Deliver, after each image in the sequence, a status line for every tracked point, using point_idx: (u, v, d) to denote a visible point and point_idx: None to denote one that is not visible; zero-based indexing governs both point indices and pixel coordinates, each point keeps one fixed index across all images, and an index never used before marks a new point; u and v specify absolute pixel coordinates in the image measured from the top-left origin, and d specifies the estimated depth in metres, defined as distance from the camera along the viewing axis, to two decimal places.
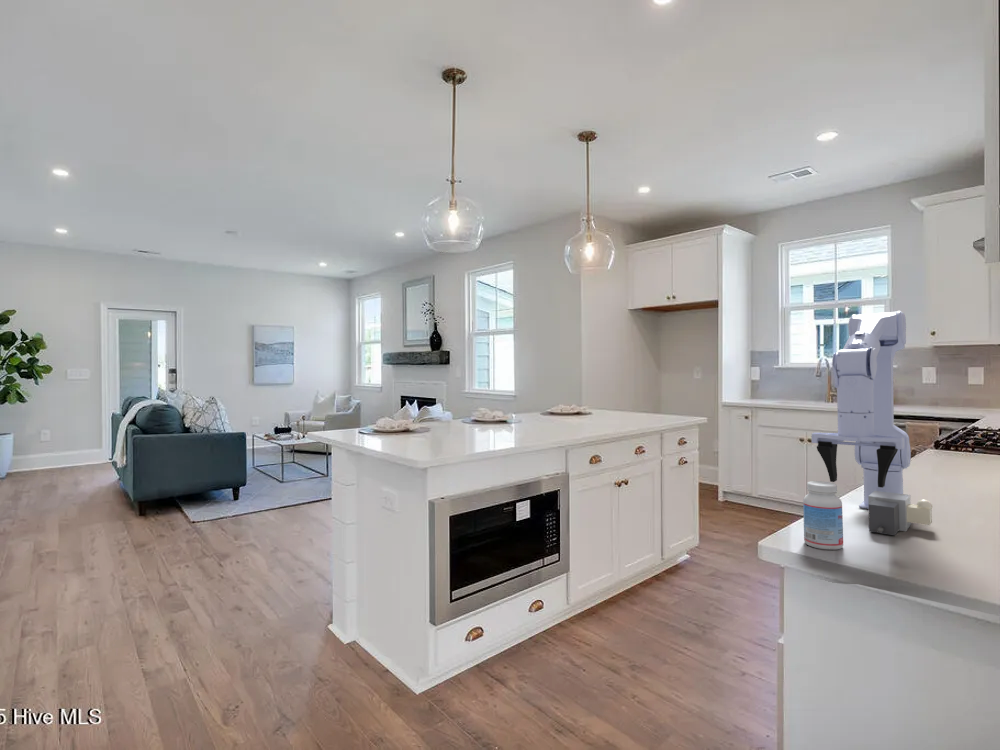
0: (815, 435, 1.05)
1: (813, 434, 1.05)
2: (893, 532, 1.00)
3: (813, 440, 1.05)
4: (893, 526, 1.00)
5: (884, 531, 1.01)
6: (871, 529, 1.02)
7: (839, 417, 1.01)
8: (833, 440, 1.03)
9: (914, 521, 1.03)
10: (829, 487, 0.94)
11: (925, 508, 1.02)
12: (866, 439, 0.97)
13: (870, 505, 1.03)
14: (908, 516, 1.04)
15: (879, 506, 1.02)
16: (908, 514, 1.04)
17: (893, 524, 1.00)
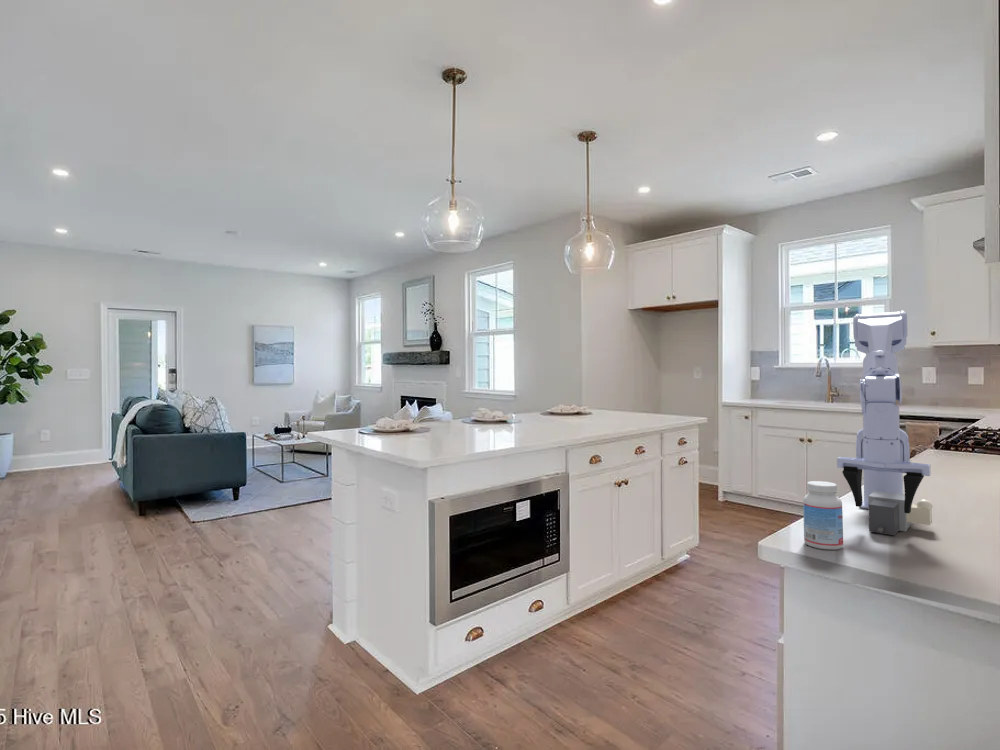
0: (840, 460, 1.06)
1: (839, 459, 1.06)
2: (893, 532, 1.00)
3: (838, 465, 1.06)
4: (893, 526, 1.00)
5: (884, 531, 1.01)
6: (871, 529, 1.02)
7: (865, 443, 1.03)
8: (859, 465, 1.05)
9: (914, 521, 1.03)
10: (829, 487, 0.94)
11: (925, 508, 1.02)
12: (893, 465, 0.99)
13: (870, 505, 1.03)
14: (908, 516, 1.04)
15: (879, 506, 1.02)
16: (908, 514, 1.04)
17: (893, 524, 1.00)
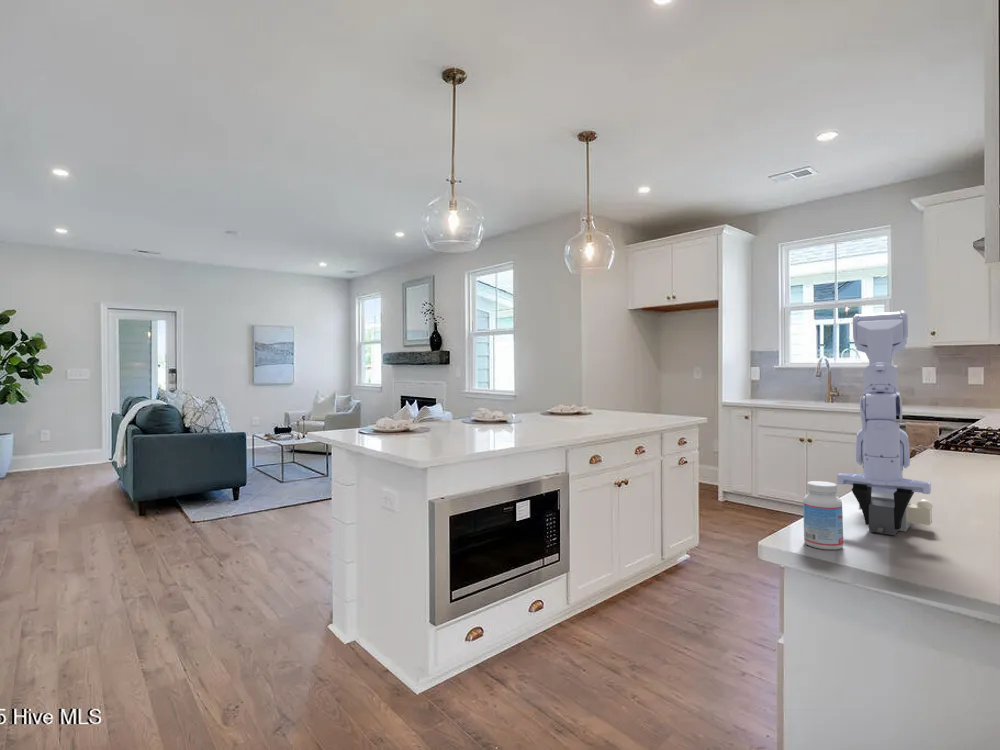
0: (841, 476, 1.06)
1: (839, 475, 1.06)
2: (893, 532, 1.00)
3: (839, 481, 1.06)
4: (893, 526, 1.00)
5: (884, 531, 1.01)
6: (871, 529, 1.02)
7: (865, 460, 1.03)
8: (859, 482, 1.05)
9: (914, 521, 1.03)
10: (829, 487, 0.94)
11: (925, 508, 1.02)
12: (893, 483, 0.99)
13: (870, 505, 1.03)
14: (908, 516, 1.04)
15: (879, 506, 1.02)
16: (908, 514, 1.04)
17: (893, 524, 1.00)
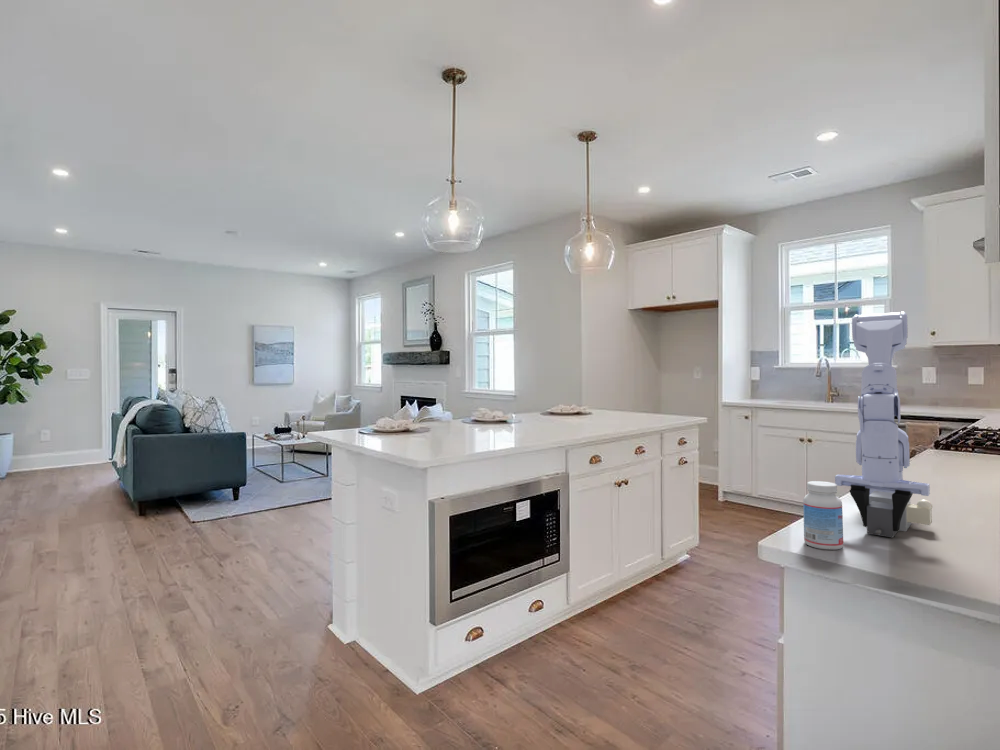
0: (838, 478, 1.05)
1: (837, 476, 1.05)
2: (891, 534, 0.99)
3: (837, 482, 1.05)
4: (891, 528, 0.99)
5: (882, 533, 1.00)
6: (869, 531, 1.01)
7: (863, 461, 1.01)
8: (857, 483, 1.03)
9: (914, 521, 1.03)
10: (829, 487, 0.94)
11: (925, 508, 1.02)
12: (891, 485, 0.98)
13: (868, 507, 1.01)
14: (908, 516, 1.04)
15: (877, 508, 1.00)
16: (908, 514, 1.04)
17: (891, 526, 0.99)
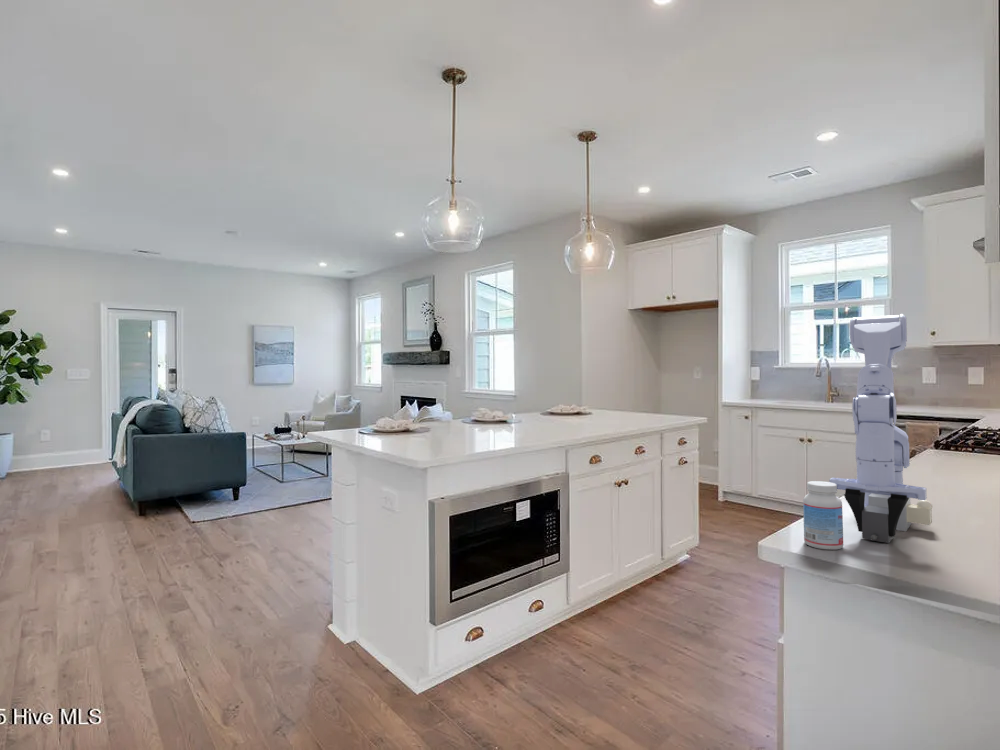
0: (833, 481, 1.02)
1: (831, 480, 1.02)
2: (887, 540, 0.96)
3: None
4: (887, 533, 0.96)
5: (878, 538, 0.97)
6: (864, 536, 0.98)
7: (858, 464, 0.98)
8: (852, 487, 1.00)
9: (914, 521, 1.03)
10: (829, 487, 0.94)
11: (925, 508, 1.02)
12: (887, 489, 0.95)
13: (863, 511, 0.98)
14: (908, 516, 1.04)
15: (872, 512, 0.97)
16: (908, 514, 1.04)
17: (887, 531, 0.96)
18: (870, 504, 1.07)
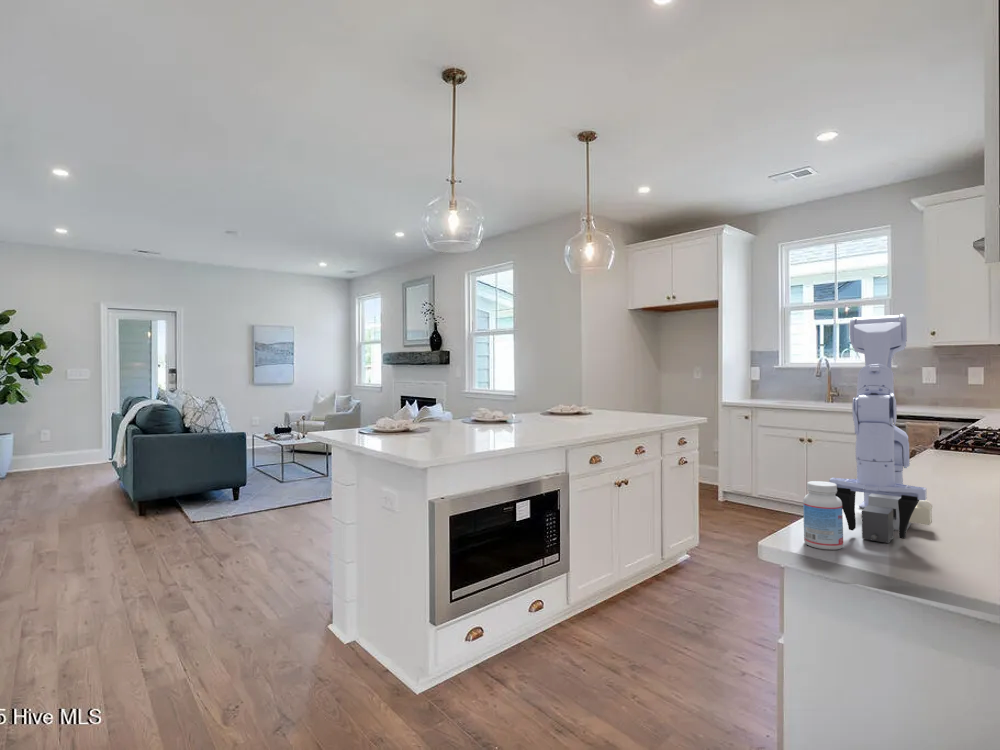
0: (833, 481, 1.02)
1: (831, 480, 1.02)
2: (887, 540, 0.96)
3: None
4: (887, 533, 0.96)
5: (878, 538, 0.97)
6: (864, 536, 0.98)
7: (858, 464, 0.98)
8: (852, 487, 1.00)
9: (914, 521, 1.03)
10: (829, 487, 0.94)
11: (925, 508, 1.02)
12: (887, 489, 0.95)
13: (863, 511, 0.98)
14: None
15: (872, 512, 0.97)
16: None
17: (887, 531, 0.96)
18: (870, 504, 1.07)
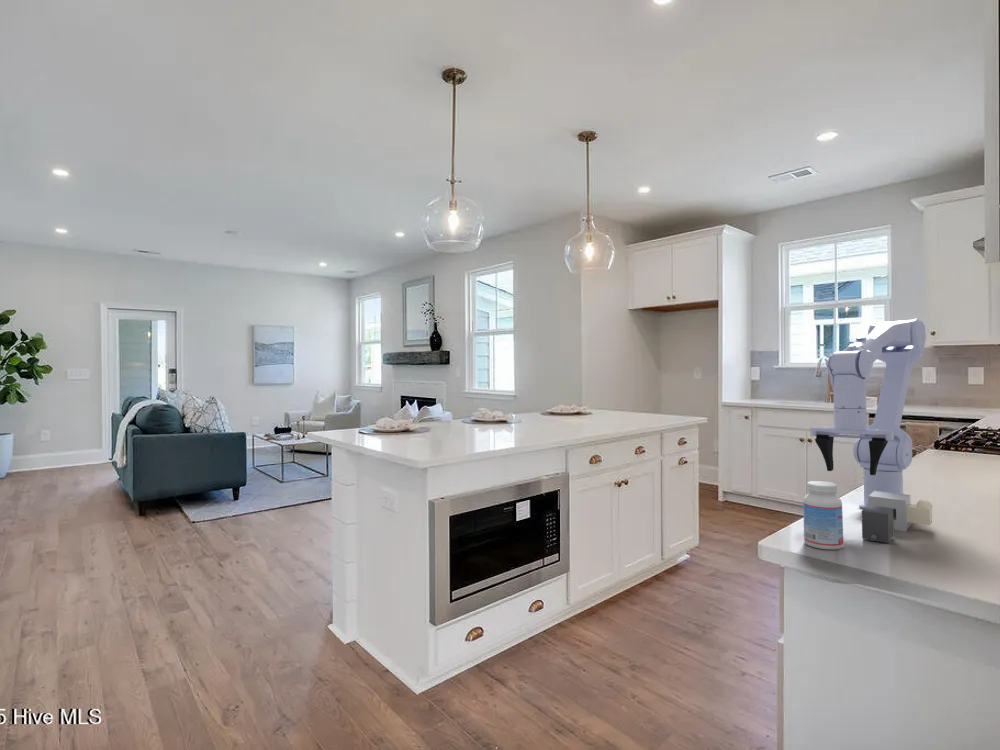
0: (813, 429, 1.16)
1: (812, 428, 1.16)
2: (887, 540, 0.96)
3: (812, 433, 1.16)
4: (887, 533, 0.96)
5: (878, 538, 0.97)
6: (864, 536, 0.98)
7: (835, 412, 1.12)
8: (830, 433, 1.14)
9: (914, 521, 1.03)
10: (829, 487, 0.94)
11: (925, 508, 1.02)
12: (859, 432, 1.09)
13: (863, 511, 0.98)
14: (908, 516, 1.04)
15: (872, 512, 0.97)
16: (908, 514, 1.04)
17: (887, 531, 0.96)
18: (870, 504, 1.07)
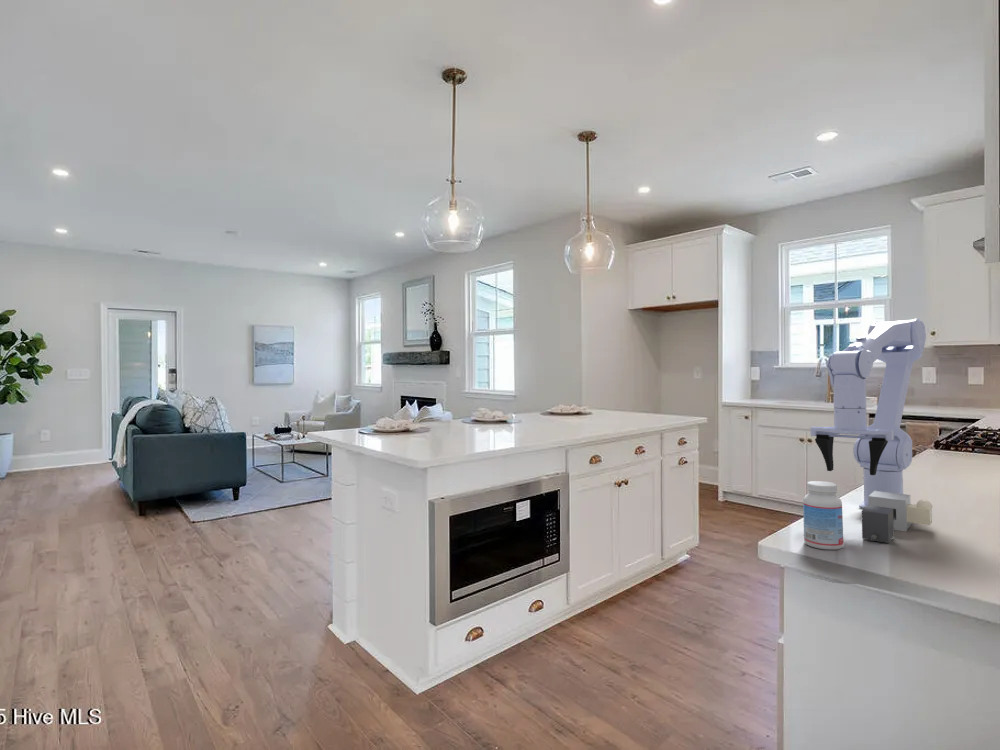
0: (813, 429, 1.16)
1: (812, 428, 1.16)
2: (887, 540, 0.96)
3: (812, 433, 1.16)
4: (887, 533, 0.96)
5: (878, 538, 0.97)
6: (864, 536, 0.98)
7: (835, 412, 1.12)
8: (830, 433, 1.14)
9: (914, 521, 1.03)
10: (829, 487, 0.94)
11: (925, 508, 1.02)
12: (859, 432, 1.09)
13: (863, 511, 0.98)
14: (908, 516, 1.04)
15: (872, 512, 0.97)
16: (908, 514, 1.04)
17: (887, 531, 0.96)
18: (870, 504, 1.07)
